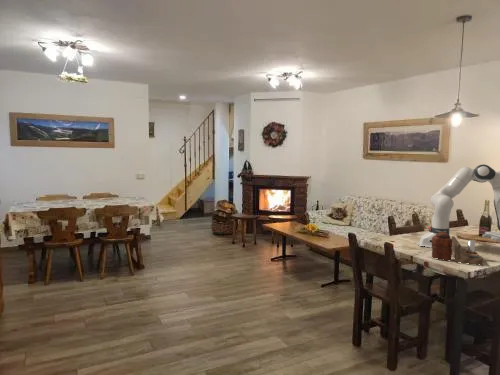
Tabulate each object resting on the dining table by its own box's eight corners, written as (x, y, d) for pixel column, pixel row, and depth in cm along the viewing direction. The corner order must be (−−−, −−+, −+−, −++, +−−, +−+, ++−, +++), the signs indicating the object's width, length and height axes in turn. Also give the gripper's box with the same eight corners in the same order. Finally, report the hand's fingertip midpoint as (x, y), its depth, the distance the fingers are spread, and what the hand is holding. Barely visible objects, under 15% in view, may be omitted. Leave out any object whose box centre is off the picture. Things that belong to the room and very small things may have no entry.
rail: (456, 263, 225) (457, 244, 224) (450, 253, 247) (451, 236, 246) (482, 265, 220) (483, 246, 219) (473, 255, 242) (474, 237, 241)
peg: (467, 259, 233) (468, 241, 232) (466, 257, 236) (467, 239, 235) (474, 259, 231) (475, 241, 230) (473, 258, 235) (474, 240, 234)
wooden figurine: (451, 259, 233) (453, 232, 231) (451, 262, 227) (452, 234, 226) (431, 256, 239) (432, 230, 237) (430, 259, 234) (431, 232, 232)
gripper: (496, 229, 245) (477, 229, 244) (521, 236, 225) (501, 236, 223) (495, 238, 246) (476, 238, 244) (520, 246, 225) (500, 246, 224)
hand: (488, 237), depth 234 cm, fingers open, 8 cm apart
